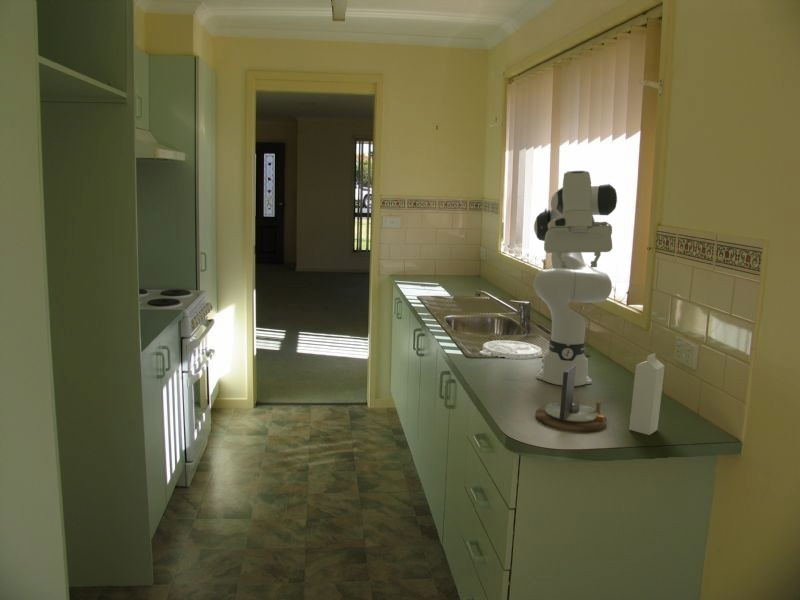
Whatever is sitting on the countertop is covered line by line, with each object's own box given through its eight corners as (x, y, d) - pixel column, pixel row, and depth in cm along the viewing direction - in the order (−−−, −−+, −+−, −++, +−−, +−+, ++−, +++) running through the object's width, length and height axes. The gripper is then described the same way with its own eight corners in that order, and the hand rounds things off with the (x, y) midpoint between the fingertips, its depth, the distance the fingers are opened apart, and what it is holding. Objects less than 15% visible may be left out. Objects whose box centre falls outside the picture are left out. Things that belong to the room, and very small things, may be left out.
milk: (657, 430, 205) (666, 354, 201) (649, 435, 200) (658, 358, 196) (636, 424, 208) (645, 350, 205) (628, 429, 204) (637, 353, 200)
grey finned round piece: (552, 402, 219) (557, 354, 216) (608, 413, 212) (613, 363, 209) (534, 419, 203) (539, 367, 200) (594, 431, 195) (599, 377, 193)
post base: (535, 406, 221) (536, 390, 220) (602, 412, 218) (604, 396, 217) (535, 428, 201) (537, 410, 201) (609, 435, 198) (611, 418, 197)
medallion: (554, 357, 284) (554, 351, 284) (499, 363, 271) (499, 357, 271) (516, 343, 304) (516, 338, 304) (463, 348, 291) (464, 343, 291)
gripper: (609, 223, 223) (609, 267, 223) (542, 223, 224) (543, 268, 223) (614, 220, 217) (615, 266, 217) (546, 221, 218) (547, 267, 217)
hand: (578, 267), depth 220 cm, fingers open, 8 cm apart
